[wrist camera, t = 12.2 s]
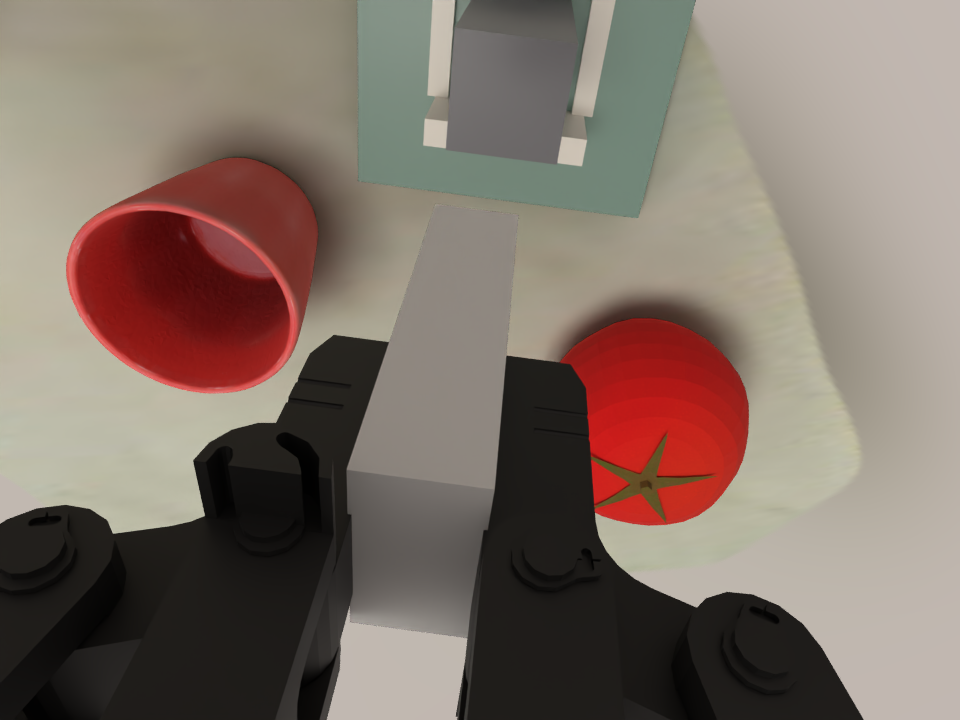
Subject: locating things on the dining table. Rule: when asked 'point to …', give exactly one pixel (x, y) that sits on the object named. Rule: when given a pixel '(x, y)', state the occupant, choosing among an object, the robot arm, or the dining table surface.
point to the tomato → (659, 420)
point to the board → (589, 116)
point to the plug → (511, 78)
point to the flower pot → (199, 276)
